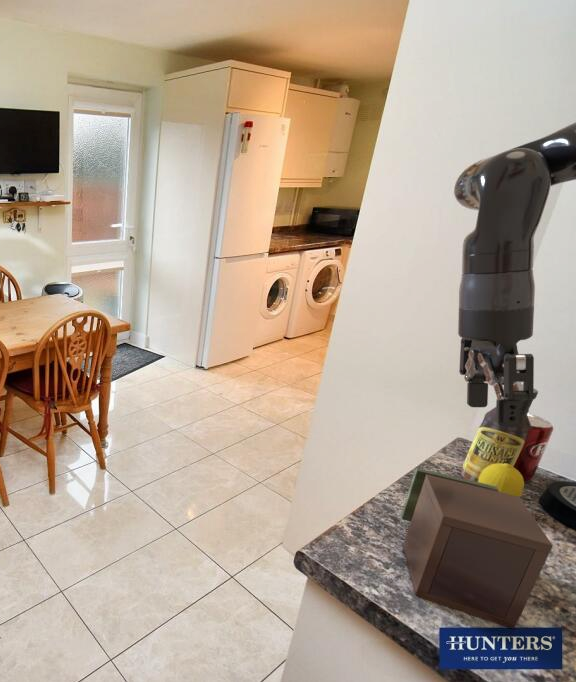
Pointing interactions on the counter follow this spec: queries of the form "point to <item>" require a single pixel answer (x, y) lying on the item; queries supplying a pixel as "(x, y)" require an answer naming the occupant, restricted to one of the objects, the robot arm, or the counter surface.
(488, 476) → the lemon
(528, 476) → the soda can
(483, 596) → the box
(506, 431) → the sauce bottle
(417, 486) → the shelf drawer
